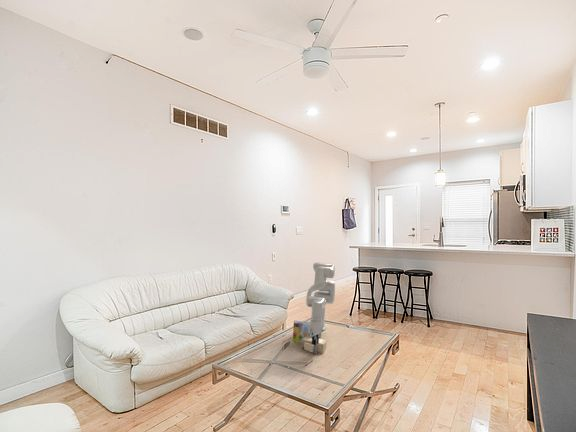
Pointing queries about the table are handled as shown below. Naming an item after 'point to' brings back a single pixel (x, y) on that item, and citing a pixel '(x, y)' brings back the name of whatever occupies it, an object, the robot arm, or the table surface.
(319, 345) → the carton
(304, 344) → the flap
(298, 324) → the snack box
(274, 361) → the table surface
